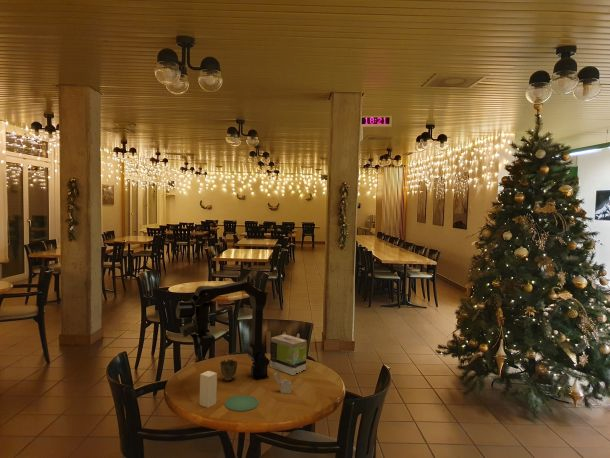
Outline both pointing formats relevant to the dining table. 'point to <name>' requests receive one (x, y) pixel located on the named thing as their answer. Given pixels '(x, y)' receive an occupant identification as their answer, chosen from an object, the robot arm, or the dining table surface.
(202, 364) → the dining table surface
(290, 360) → the tea box
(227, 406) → the green mat
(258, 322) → the robot arm
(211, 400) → the cream block
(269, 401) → the dining table surface
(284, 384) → the lighter
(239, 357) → the dining table surface
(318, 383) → the dining table surface
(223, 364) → the dark grey rounded piece
